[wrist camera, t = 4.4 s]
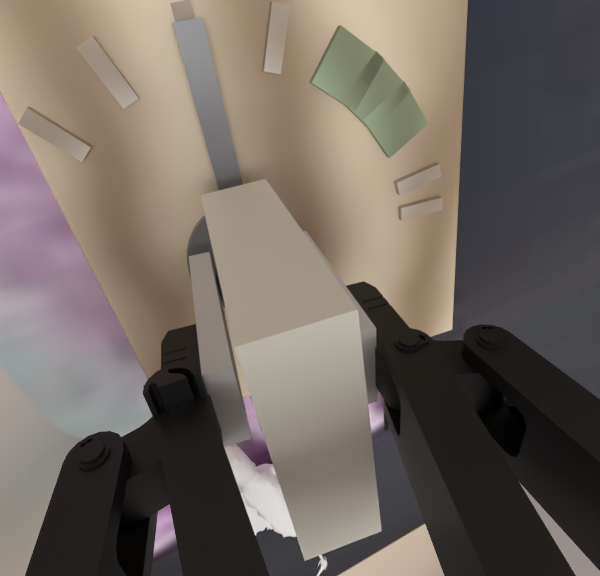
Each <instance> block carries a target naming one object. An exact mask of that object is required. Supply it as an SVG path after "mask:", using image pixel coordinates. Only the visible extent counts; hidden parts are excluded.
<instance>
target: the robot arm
mask: <svg viewBox="0 0 600 576" xmlns="http://www.w3.org/2000/svg"><path fill="white" fill-rule="evenodd" d="M303 232H304V234H305V235H306V236H307V238H308V239H309V241H310V242H311V244H312V245H313V246H314V248H315V249H316V251H317V252H318V254H319V255H320V256H321V258H322V259H323V261H324V262H325V263H326V265H327V266H328V268H329V269H330V271H331V272H332V273H333V275H334V276H335V278H336V279H337V280H338V282H339V283H340V285H341V286H342V288H343V289H344V290H345V292H346V293H347V295H348V296H349V297H350V299H351V300H352V302H353V303H354V305H355V306H356V307H357V309H358V314H359V324H360V333H361V343H362V352H363V362H364V371H365V380H366V390H367V399H368V404H370V403H373V402H376V401H377V388H378V390H379V392H380V393H381V395H382V397H383V398H384V429H385V431H386V430H388V423H389V426H390V429H391V432H392V434H393V437H394V440H395V442H396V445H397V448H398V451H399V453H400V456H401V459H402V461H403V464H404V467H405V470H406V472H407V475H408V478H409V480H410V483H411V486H412V489H413V491H414V494H415V497H416V499H417V502H418V505H419V508H420V510H421V513H422V516H423V518H424V521H425V524H426V526H427V529H428V532H429V535H430V537H431V540H432V543H433V546H434V548H435V551H436V554H437V556H438V559H439V562H440V565H441V567H442V570H443V573H444V575H445V576H575V574H574V572H573V571H572V569H571V567H570V566H569V564H568V562H567V561H566V559H565V557H564V556H563V554H562V552H561V551H560V549H559V548H558V546H557V544H556V543H555V541H554V539H553V538H552V536H551V534H550V533H549V531H548V530H547V528H546V526H545V524H544V523H543V521H542V520H541V518H540V516H539V515H538V513H537V511H536V510H535V508H534V506H533V505H532V503H531V502H530V500H529V498H528V497H527V495H526V493H525V492H524V490H523V488H522V487H521V485H520V483H521V484H522V485H523V487H524V488H525V489H526V490H527V491H528V492H529V493H530V494H531V495H532V497H533V498H534V499H535V500H536V501H537V502H538V503H539V504H540V505H541V506H542V508H544V510H545V511H546V512H547V513H548V514H549V515H550V516H551V517H552V519H553V520H554V521H555V522H556V523H557V524H558V525H559V526H560V527H561V528H562V529H563V531H564V532H565V533H566V534H567V535H568V536H569V537H570V538H571V539H572V540H573V542H574V543H575V544H576V545H577V546H578V547H579V548H580V549H581V551H583V553H584V554H585V555H586V556H587V557H588V558H589V559H590V560H591V561H592V563H594V565H595V566H596V567H597V568H598V569H599V570H600V399H598V398H597V397H596V396H594V395H593V394H592V393H590V392H589V391H588V390H586V389H585V388H584V387H582V386H581V385H580V384H578V383H577V382H576V381H574V380H573V379H572V378H570V377H569V376H568V375H566V374H565V373H564V372H562V371H561V370H560V369H558V368H557V367H556V366H554V365H553V364H552V363H550V362H549V361H547V360H546V359H545V358H543V357H542V356H541V355H539V354H538V353H537V352H535V351H534V350H533V349H531V348H530V347H529V346H527V345H526V344H525V343H523V342H522V341H521V340H519V339H518V338H517V337H515V336H514V335H513V334H511V333H510V332H508V331H506V330H504V329H503V328H500V327H496V326H493V325H477V326H472V327H471V328H469V329H467V330H466V332H465V333H464V335H463V340H459V341H435V340H432V339H431V338H430V336H429V335H428V334H426V333H424V332H422V331H420V330H417V329H412V328H409V326H408V325H407V324H406V323H405V322H404V320H403V319H402V318H401V317H400V316H399V314H398V313H397V312H396V311H395V310H394V308H393V307H392V306H391V305H389V302H388V301H387V300H386V299H385V298H383V295H382V294H381V293H380V292H379V290H378V289H377V288H376V287H374V286H372V285H370V284H368V283H366V282H364V281H363V282H359V283H355V284H351V285H347V286H345V284H344V283H343V281H342V280H341V279H340V277H339V276H338V274H337V273H336V272H335V270H334V269H333V267H332V266H331V265H330V263H329V262H328V260H327V259H326V258H325V256H324V255H323V254H322V252H321V251H320V249H319V248H318V247H317V245H316V244H315V242H314V241H313V240H312V238H311V237H310V235H309V234H308V233H307V231H303ZM189 263H190V273H191V282H192V291H193V300H194V310H195V319H196V324H194V325H190V326H186V327H182V328H178V329H173V330H169V331H168V332H167V333H166V335H165V337H164V338H163V340H162V342H161V370H159V371H157V372H156V373H154V374H153V375H152V376H151V377H150V378H149V379H148V380H147V382H146V384H145V385H144V390H143V395H144V397H145V399H146V402H147V404H148V406H149V408H150V411H151V413H152V415H153V416H152V418H151V419H149V420H148V421H147V422H146V423H145V424H144V425H142V426H140V427H139V428H137V429H136V430H134V431H132V432H130V433H128V434H127V435H125V436H123V437H120V435H119V434H117V433H114V432H111V431H107V432H98V433H96V434H93V435H90V436H88V437H86V438H85V439H83V440H82V441H80V442H79V443H77V444H76V445H75V446H74V447H73V448H72V449H71V450H70V452H69V453H68V455H67V456H66V458H65V460H64V462H63V465H62V468H61V471H60V474H59V477H58V480H57V483H56V486H55V488H54V492H53V494H52V497H51V500H50V503H49V506H48V509H47V512H46V516H45V518H44V521H43V524H42V527H41V530H40V533H39V536H38V539H37V542H36V545H35V548H34V551H33V554H32V557H31V560H30V562H29V565H28V568H27V571H26V574H25V576H151V569H152V560H153V551H154V541H155V532H156V523H157V513H158V511H159V510H161V509H162V508H164V507H165V506H167V505H168V504H170V507H171V513H172V518H173V523H174V529H175V534H176V539H177V545H178V550H179V555H180V561H181V566H182V571H183V576H269V573H268V571H267V568H266V565H265V562H264V559H263V556H262V553H261V551H260V548H259V545H258V542H257V539H256V536H255V534H254V531H253V528H252V525H251V522H250V519H249V516H248V514H247V511H246V508H245V505H244V502H243V499H242V496H241V494H240V491H239V488H238V485H237V482H236V479H235V477H234V474H233V471H232V468H231V465H230V462H229V459H228V457H227V454H226V451H225V448H224V446H225V447H227V446H230V445H233V444H237V443H240V442H243V441H247V440H250V439H252V437H251V433H250V428H249V424H248V419H247V414H246V410H245V405H244V400H243V396H242V391H241V386H240V382H239V377H238V372H237V368H236V363H235V358H234V354H233V349H232V345H231V340H230V335H229V331H228V326H227V321H226V317H225V312H224V308H223V304H222V300H221V297H220V294H219V290H218V286H217V281H216V277H215V273H214V269H213V265H212V261H211V257H210V253H209V252H206V253H202V254H197V255H193V256H189ZM223 443H224V445H223ZM518 481H519V482H520V483H519V482H518Z"/></svg>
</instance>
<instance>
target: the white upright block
mask: <svg viewBox="0 0 600 576" xmlns="http://www.w3.org/2000/svg"><path fill="white" fill-rule="evenodd" d="M172 25H173V29H174V32H175V36H176V40H177V43H178V47H179V50H180V54H181V57H182V61H183V64H184V68H185V72H186V75H187V79H188V82H189V86H190V89H191V93H192V97H193V100H194V104H195V107H196V111H197V114H198V118H199V122H200V125H201V129H202V132H203V136H204V139H205V143H206V147H207V150H208V154H209V157H210V161H211V164H212V168H213V172H214V175H215V179H216V182H217V186H218V189H219V191H215V192H211V193H207V194H203V195H200V196H201V200H202V205H203V209H204V214H205V215H204V216H203V217H202V218H201V219H200V220H199V222H198V223H197V225H196V226H195V227H194V229H193V231H192V233H191V235H190V238H189V241H188V247H187V263H188V270H189V274H190V277H191V273H190V263H189V256H193V255H197V254H202V253H206V252H209V253H210V257H211V261H212V265H213V269H214V273H215V277H216V281H217V286H218V290H219V294H220V297H221V300H222V304H223V307H224V308H226V312H227V317H228V321H229V326H230V330H231V335H232V339H233V344H234V348H235V351H236V354H237V357H238V360H239V363H240V366H241V369H242V372H243V375H244V378H245V381H246V384H247V387H248V390H249V393H250V396H251V399H252V402H253V406H254V409H255V412H256V415H257V418H258V421H259V424H260V427H261V430H262V433H263V436H264V439H265V442H266V445H267V448H268V451H269V454H270V457H271V460H272V463H273V466H274V469H275V472H276V475H277V478H278V481H279V484H280V487H281V490H282V493H283V496H284V499H285V502H286V506H287V509H288V512H289V515H290V518H291V521H292V524H293V527H294V530H295V533H296V536H297V539H298V542H299V545H300V548H301V551H302V554H303V557H304V560H305V561H306V560H308V559H311V558H314V557H316V556H319V555H321V554H324V553H326V552H329V551H332V550H334V549H337V548H339V547H342V546H344V545H347V544H350V543H352V542H355V541H357V540H360V539H362V538H365V537H368V536H370V535H373V534H375V533H378V532H380V531H381V522H380V513H379V503H378V494H377V484H376V475H375V465H374V456H373V446H372V437H371V428H370V418H369V409H368V399H367V390H366V380H365V371H364V362H363V352H362V343H361V333H360V324H359V314H358V309H357V307H356V306H355V305H354V303H353V302H352V300H351V299H350V297H349V296H348V295H347V293H346V292H345V290H344V289H343V288H342V286H341V285H340V283H339V282H338V280H337V279H336V278H335V276H334V275H333V273H332V272H331V271H330V269H329V268H328V266H327V265H326V263H325V262H324V261H323V259H322V258H321V256H320V255H319V254H318V252H317V251H316V249H315V248H314V246H313V245H312V244H311V242H310V241H309V239H308V238H307V236H306V235H305V234H304V232H303V231H302V229H301V228H300V226H299V224H298V223H297V222H296V220H295V219H294V218H293V217H292V215H291V214H290V212H289V211H288V210H287V208H286V207H285V205H284V204H283V202H282V201H281V200H280V198H279V197H278V195H277V194H276V192H275V191H274V190H273V188H272V187H271V185H270V184H269V183H268V181H267V180H266V179H263V180H259V181H255V182H251V183H247V184H243V181H242V177H241V173H240V169H239V165H238V161H237V157H236V153H235V149H234V145H233V141H232V136H231V132H230V128H229V124H228V120H227V116H226V112H225V108H224V104H223V100H222V96H221V91H220V87H219V83H218V79H217V75H216V71H215V67H214V63H213V59H212V55H211V51H210V46H209V42H208V38H207V34H206V30H205V26H204V22H203V18H202V17H199V18H194V19H189V20H184V21H178V22H173V23H172Z"/></svg>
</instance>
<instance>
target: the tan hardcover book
mask: <svg viewBox="0 0 600 576" xmlns="http://www.w3.org/2000/svg"><path fill="white" fill-rule="evenodd" d="M467 5H468V0H0V92H1V94H2V96H3V98H4V100H5V102H6V103H7V105H8V107H9V109H10V111H11V113H12V115H13V117H14V119H15V121H16V123H17V125H18V127H19V129H20V131H21V133H22V135H23V137H24V139H25V140H26V142H27V144H28V146H29V148H30V150H31V152H32V154H33V156H34V158H35V160H36V162H37V164H38V166H39V168H40V170H41V172H42V174H43V175H44V177H45V179H46V181H47V183H48V185H49V187H50V189H51V191H52V193H53V195H54V197H55V199H56V201H57V203H58V205H59V207H60V209H61V210H62V212H63V214H64V216H65V218H66V220H67V222H68V224H69V226H70V228H71V230H72V232H73V234H74V236H75V238H76V240H77V242H78V244H79V246H80V247H81V249H82V251H83V253H84V255H85V257H86V259H87V261H88V263H89V265H90V267H91V269H92V271H93V273H94V275H95V277H96V279H97V281H98V282H99V284H100V286H101V288H102V290H103V292H104V294H105V296H106V298H107V300H108V302H109V304H110V306H111V308H112V310H113V312H114V314H115V316H116V317H117V319H118V321H119V323H120V325H121V327H122V329H123V331H124V333H125V335H126V337H127V339H128V341H129V343H130V345H131V347H132V349H133V351H134V353H135V354H136V356H137V358H138V360H139V362H140V364H141V366H142V368H143V370H144V372H145V374H146V376H147V378H148V379H149V378H150V377H151V376H152V375H153V374H154V373H156V372H157V371H159V370H161V342H162V340H163V338H164V337H165V335H166V333H167V332H168V331H169V330H173V329H178V328H182V327H186V326H190V325H194V324H196V319H195V310H194V300H193V291H192V282H191V277H190V274H189V270H188V263H187V247H188V241H189V238H190V235H191V233H192V231H193V229H194V227H195V226H196V225H197V223H198V222H199V220H200V219H201V218H202V217H203V216H204V215H205V214H204V209H203V205H202V200H201V196H200V195H203V194H207V193H211V192H215V191H219V189H218V186H217V182H216V179H215V175H214V172H213V168H212V164H211V161H210V157H209V154H208V150H207V147H206V143H205V139H204V136H203V132H202V129H201V125H200V122H199V118H198V114H197V111H196V107H195V104H194V100H193V97H192V93H191V89H190V86H189V82H188V79H187V75H186V72H185V68H184V64H183V61H182V57H181V54H180V50H179V47H178V43H177V40H176V36H175V32H174V29H173V25H172V23H173V22H178V21H184V20H189V19H194V18H199V17H202V18H203V22H204V26H205V30H206V34H207V38H208V42H209V46H210V51H211V55H212V59H213V63H214V67H215V71H216V75H217V79H218V83H219V87H220V91H221V96H222V100H223V104H224V108H225V112H226V116H227V120H228V124H229V128H230V132H231V136H232V141H233V145H234V149H235V153H236V157H237V161H238V165H239V169H240V173H241V177H242V181H243V184H247V183H251V182H255V181H259V180H263V179H266V180H267V181H268V183H269V184H270V185H271V187H272V188H273V190H274V191H275V192H276V194H277V195H278V197H279V198H280V200H281V201H282V202H283V204H284V205H285V207H286V208H287V210H288V211H289V212H290V214H291V215H292V217H293V218H294V219H295V220H296V222H297V223H298V224H299V226H300V228H301V229H302V231H307V233H308V234H309V235H310V237H311V238H312V240H313V241H314V242H315V244H316V245H317V247H318V248H319V249H320V251H321V252H322V254H323V255H324V256H325V258H326V259H327V260H328V262H329V263H330V265H331V266H332V267H333V269H334V270H335V272H336V273H337V274H338V276H339V277H340V279H341V280H342V281H343V283H344V284H345V286H347V285H351V284H355V283H359V282H363V281H364V282H366V283H368V284H370V285H372V286H374V287H376V288H377V289H378V290H379V292H380V293H381V294H382V295H383V298H385V299H386V300H387V301H388V302H389V305H391V306H392V307H393V308H394V310H395V311H396V312H397V313H398V314H399V316H400V317H401V318H402V319H403V320H404V322H405V323H406V324H407V325H408V326H409V328H412V329H417V330H420V331H422V332H424V333H426V334H428V335H429V336H430V337H431V336H434V335H437V334H440V333H443V332H446V331H449V330H452V322H453V301H454V280H455V259H456V238H457V217H458V195H459V174H460V153H461V132H462V111H463V90H464V69H465V48H466V26H467ZM223 308H224V307H223ZM224 312H225V317H226V321H227V326H228V331H229V335H230V340H231V345H232V349H233V354H234V358H235V363H236V368H237V372H238V377H239V382H240V386H241V391H242V396H243V398H244V397H247V396H250V393H249V390H248V387H247V384H246V381H245V378H244V375H243V372H242V369H241V366H240V363H239V360H238V357H237V354H236V351H235V348H234V344H233V339H232V335H231V330H230V326H229V321H228V317H227V312H226V308H224Z"/></svg>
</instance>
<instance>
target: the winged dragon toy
mask: <svg viewBox="0 0 600 576" xmlns="http://www.w3.org/2000/svg"><path fill="white" fill-rule="evenodd" d="M223 445H224V444H223ZM224 448H225V451H226V454H227V457H228V459H229V462H230V465H231V468H232V471H233V474H234V477H235V479H236V482H237V485H238V488H239V491H240V494H241V496H242V499H243V502H244V505H245V508H246V511H247V514H248V516H249V519H250V522H251V525H252V528H253V531H254V534H255V535H256V533H257V532H259V531H263V530H264V529H265V528H266V527H267V530H268V529H270V530H272V528H273V529H274V531H275V532H277V533H280V534H282V535H283V538H284V537H287V536H292V537H296V533H295V530H294V527H293V524H292V521H291V518H290V515H289V512H288V509H287V506H286V502H285V499H284V496H283V493H282V490H281V487H280V484H279V481H278V478H277V475H276V472H275V469H274V466H273V464H262V465H259V466H255V463H254V462H252V461H251V460H250V459H249V457H248V456H247V455H246V454H245V453H244V452H243V451H242V450H241V449H240V448H239V446H238V445H237V444H233V445H230V446H227V447H225V446H224ZM319 557H320V561H319V564H320V563H321V565H322V566H321V569H320V571H319V573H318V575H317V576H319V574H320V573H321V572H322V570H323V569H325V570H326V567H327V561H326V560H327V559H326V557H322V554H321V555H319ZM319 564H318V566H319ZM317 568H318V567H317ZM327 569H328V567H327Z"/></svg>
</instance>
